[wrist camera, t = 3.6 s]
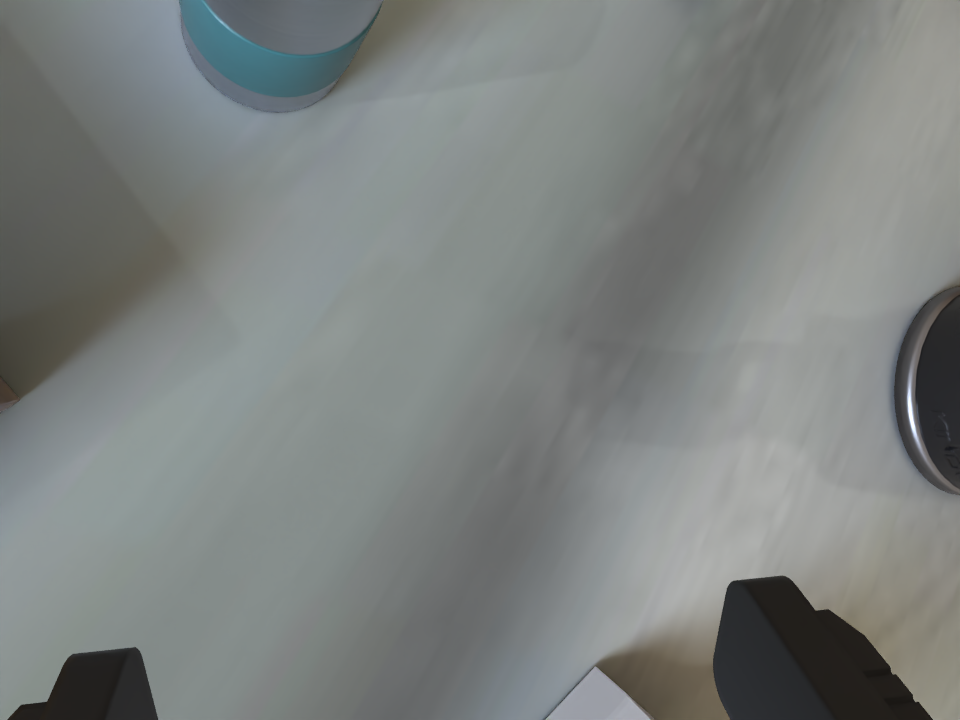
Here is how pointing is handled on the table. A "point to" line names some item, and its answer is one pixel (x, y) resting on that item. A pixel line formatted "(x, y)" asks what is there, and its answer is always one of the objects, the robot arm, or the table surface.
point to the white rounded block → (598, 701)
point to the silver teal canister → (275, 47)
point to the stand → (6, 396)
